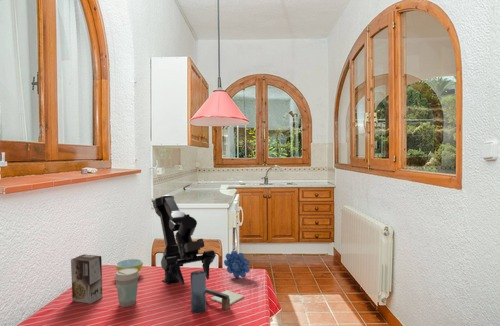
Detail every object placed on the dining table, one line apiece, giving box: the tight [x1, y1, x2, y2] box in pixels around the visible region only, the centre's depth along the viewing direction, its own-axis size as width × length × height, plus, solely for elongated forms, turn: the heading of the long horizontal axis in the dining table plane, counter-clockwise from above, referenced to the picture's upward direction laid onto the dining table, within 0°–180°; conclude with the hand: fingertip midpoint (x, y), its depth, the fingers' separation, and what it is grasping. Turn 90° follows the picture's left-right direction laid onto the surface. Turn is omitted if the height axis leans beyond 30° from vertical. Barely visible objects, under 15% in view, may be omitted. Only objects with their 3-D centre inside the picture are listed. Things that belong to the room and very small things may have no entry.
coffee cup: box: [114, 268, 140, 308], centre depth 121 cm, size 8×8×12 cm
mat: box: [210, 289, 245, 306], centre depth 124 cm, size 9×9×1 cm
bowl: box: [115, 258, 144, 273], centre depth 148 cm, size 11×12×6 cm
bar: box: [206, 287, 229, 300], centre depth 120 cm, size 14×1×1 cm, turn 52°
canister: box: [190, 270, 207, 314], centre depth 115 cm, size 5×5×13 cm
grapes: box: [223, 250, 251, 278], centre depth 144 cm, size 12×7×12 cm, turn 79°
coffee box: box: [70, 254, 103, 304], centre depth 125 cm, size 9×6×16 cm
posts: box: [221, 298, 231, 311], centre depth 120 cm, size 14×2×4 cm, turn 52°
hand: (196, 281), depth 117 cm, fingers open, 9 cm apart
